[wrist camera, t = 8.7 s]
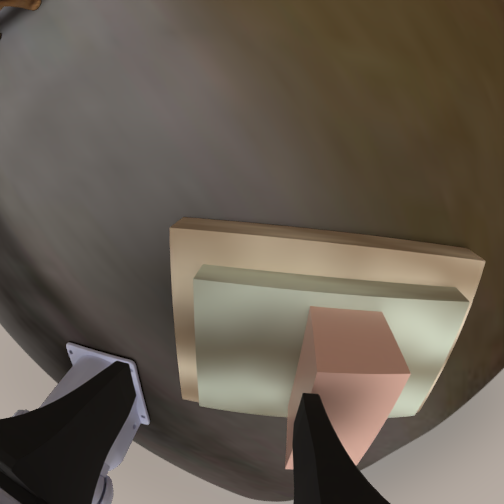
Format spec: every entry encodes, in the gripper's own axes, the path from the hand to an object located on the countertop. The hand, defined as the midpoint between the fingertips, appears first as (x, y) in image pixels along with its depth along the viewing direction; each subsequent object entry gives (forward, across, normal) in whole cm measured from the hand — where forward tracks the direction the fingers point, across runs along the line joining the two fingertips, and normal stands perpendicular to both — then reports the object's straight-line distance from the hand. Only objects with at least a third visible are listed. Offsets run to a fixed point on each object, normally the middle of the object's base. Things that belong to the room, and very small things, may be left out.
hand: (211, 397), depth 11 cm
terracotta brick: (+5, -6, +2) cm, 8 cm away
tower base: (+10, -6, +2) cm, 12 cm away
